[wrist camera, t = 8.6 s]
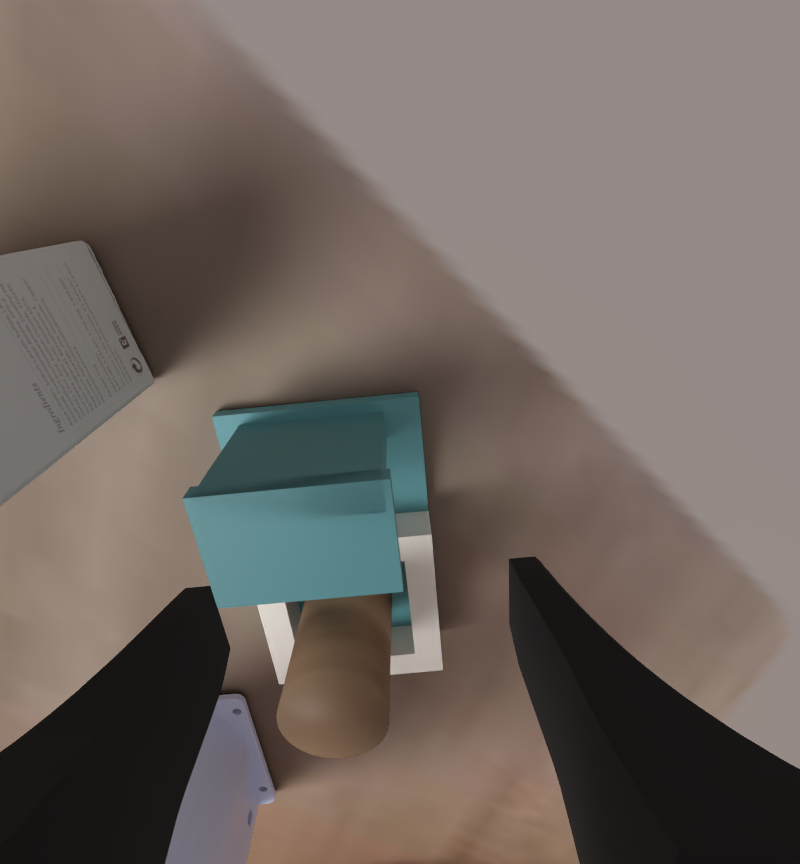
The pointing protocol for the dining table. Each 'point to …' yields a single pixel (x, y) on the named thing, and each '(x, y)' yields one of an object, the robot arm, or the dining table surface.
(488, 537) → the dining table surface
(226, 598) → the station
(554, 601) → the robot arm
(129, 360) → the skincare box
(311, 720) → the peg
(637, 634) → the dining table surface
